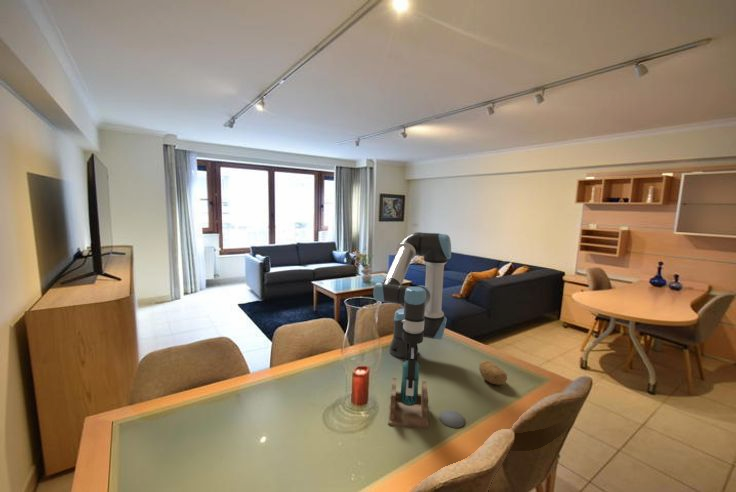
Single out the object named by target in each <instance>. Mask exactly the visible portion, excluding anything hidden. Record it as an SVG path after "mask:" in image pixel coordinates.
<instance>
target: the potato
mask: <svg viewBox="0 0 736 492" xmlns="http://www.w3.org/2000/svg"><path fill="white" fill-rule="evenodd" d="M478 366H479V367H478V369H479V373H480V375H481V377H482V378H483V379H484V380H486V382H488V383H490V384H492V385H498V386H499V385H500V386H501V385H502V384H505V383H506V382H507V380H508V375H507V373H506V371H504V369H502V368H501V367H500V366H499V365H497V364H496V363H494V362H492V361H490V360H486V359H484V360H482V361H480V362H479V365H478Z"/></svg>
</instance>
